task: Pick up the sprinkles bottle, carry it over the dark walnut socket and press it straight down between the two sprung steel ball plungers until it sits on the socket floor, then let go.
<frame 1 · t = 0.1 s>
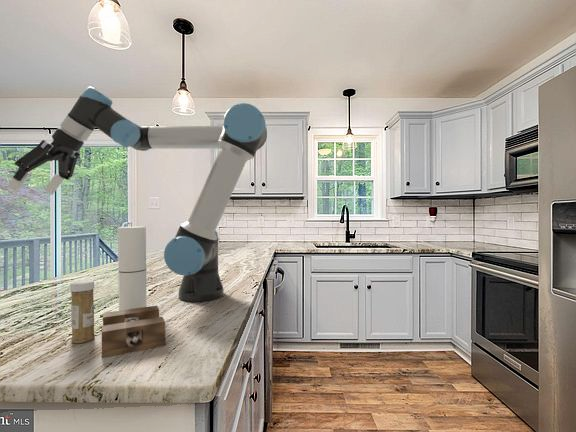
hand: (31, 191, 96), 36 cm above the counter, tool tilted 35°, fingers open, 13 cm apart
plunger 2: (134, 335, 68), point 2 cm above the counter, slide at 0.0 cm
sprinkles bottle: (83, 340, 72), on the counter
socket: (133, 338, 72), on the counter
plunger 1: (131, 321, 77), point 3 cm above the counter, slide at 0.0 cm
cylindrical container: (133, 314, 90), on the counter
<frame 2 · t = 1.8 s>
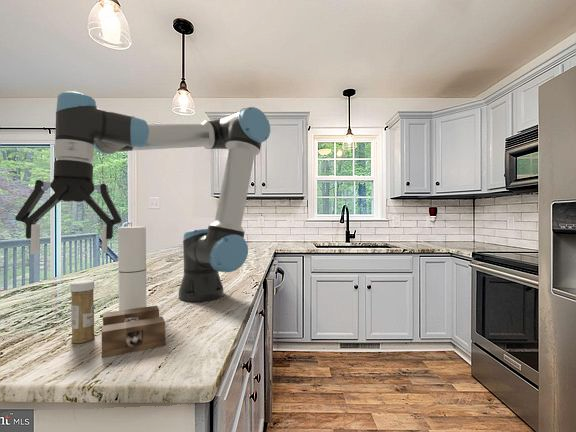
hand: (70, 253, 72), 20 cm above the counter, tool pointing down, fingers open, 13 cm apart
nothing on the counter moved.
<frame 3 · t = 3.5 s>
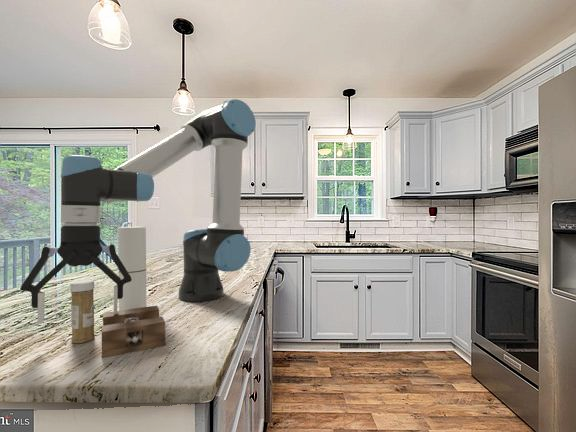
hand: (79, 318, 71), 5 cm above the counter, tool pointing down, fingers open, 13 cm apart
nothing on the counter moved.
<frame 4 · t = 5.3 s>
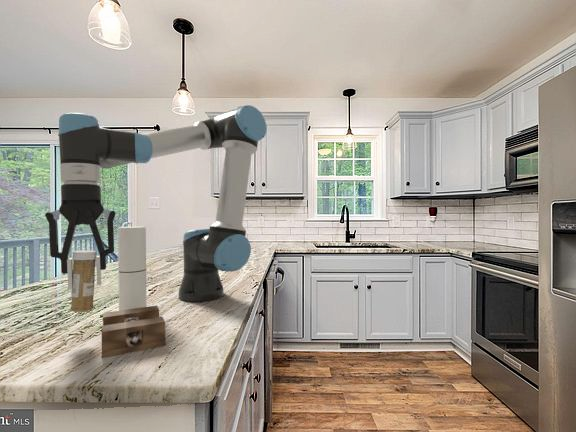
hand: (85, 285, 72), 12 cm above the counter, tool pointing down, fingers closed on sprinkles bottle, 5 cm apart
sprinkles bottle: (81, 310, 72), point 7 cm above the counter, touching gripper
everything else where it was.
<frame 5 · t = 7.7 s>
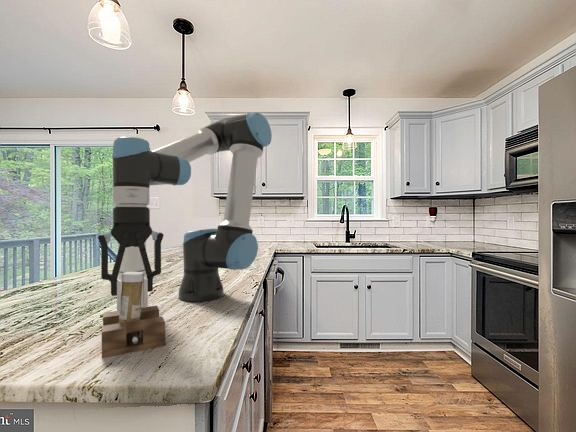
hand: (132, 307, 72), 7 cm above the counter, tool pointing down, fingers closed on sprinkles bottle, 5 cm apart
sprinkles bottle: (128, 332, 72), point 2 cm above the counter, touching gripper
everything else where it was.
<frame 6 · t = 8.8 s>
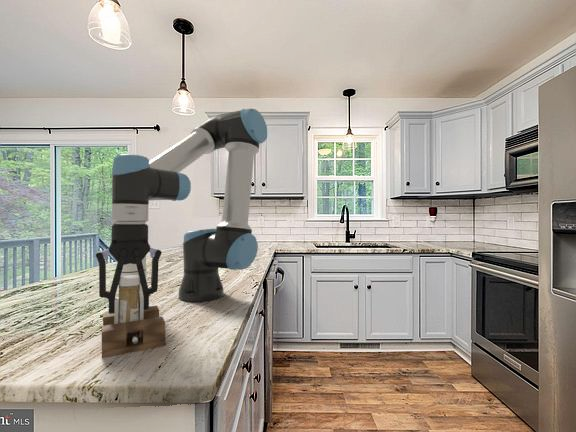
hand: (128, 325, 72), 3 cm above the counter, tool pointing down, fingers closed on sprinkles bottle, 4 cm apart
sprinkles bottle: (128, 336, 72), point 1 cm above the counter, touching gripper, socket
everything else where it was.
when the fingers open (3 cm above the counter, at t = 8.8 s): sprinkles bottle stays where it is, resting on socket.
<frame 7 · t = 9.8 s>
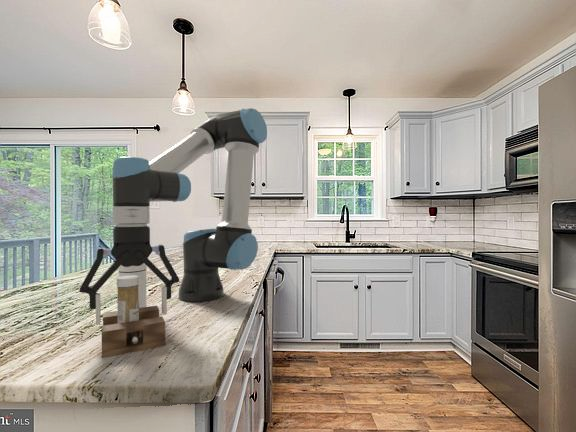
hand: (132, 317, 72), 5 cm above the counter, tool pointing down, fingers open, 13 cm apart
sprinkles bottle: (128, 336, 72), point 1 cm above the counter, touching socket
everything else where it was.
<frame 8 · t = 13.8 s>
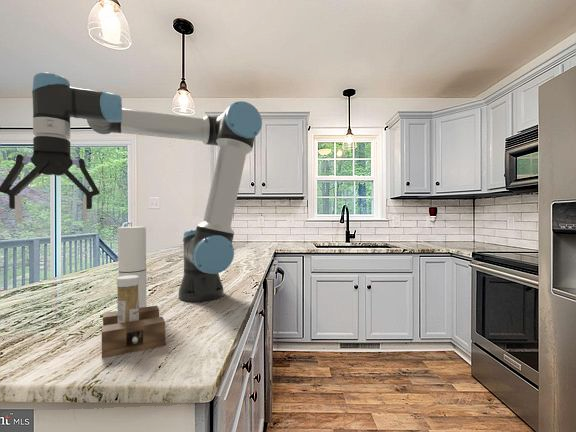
hand: (53, 222, 79), 27 cm above the counter, tool pointing down, fingers open, 13 cm apart
nothing on the counter moved.
at the end: sprinkles bottle 0.9 cm off-centre on the socket, point 0.8 cm above the socket's base; sprinkles bottle tilted 0°; the gripper is holding nothing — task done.
